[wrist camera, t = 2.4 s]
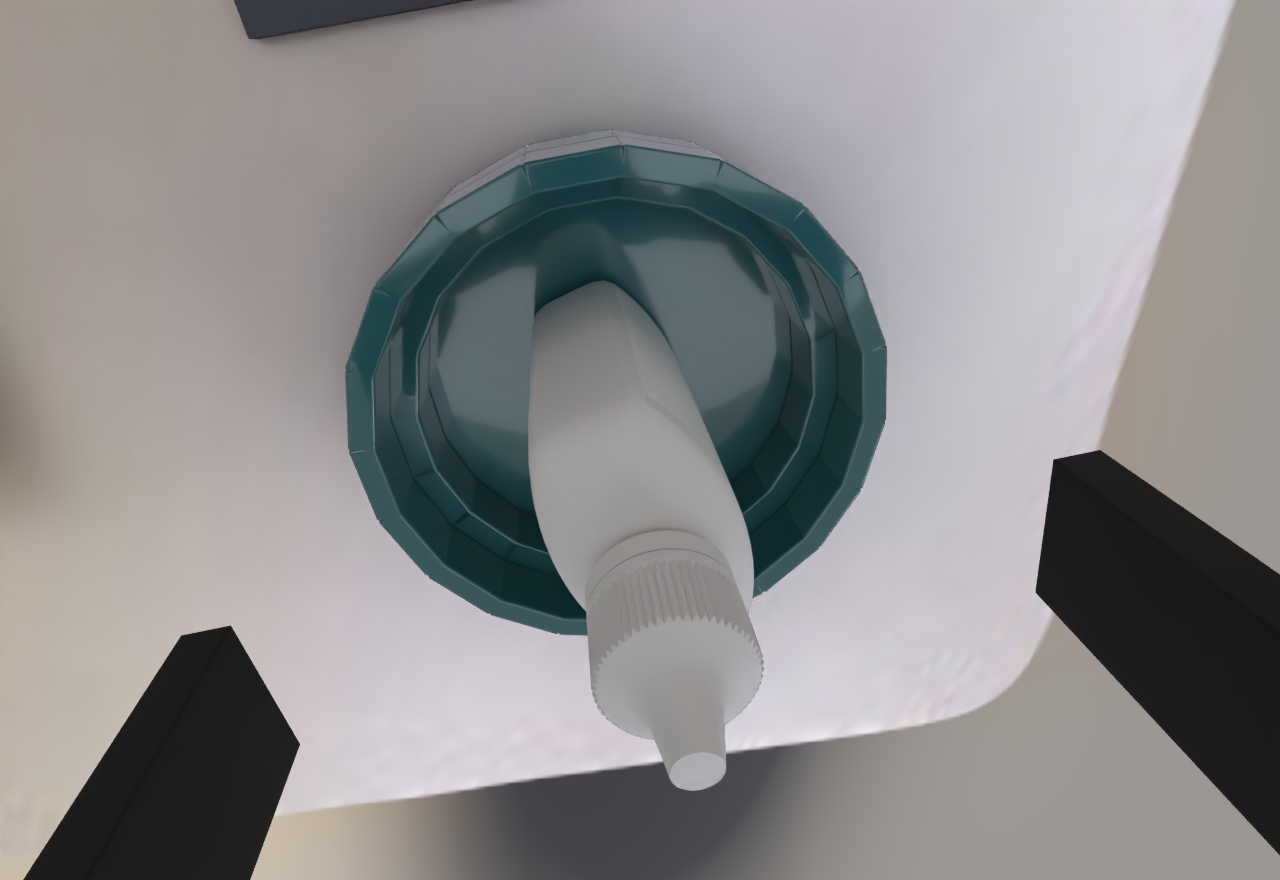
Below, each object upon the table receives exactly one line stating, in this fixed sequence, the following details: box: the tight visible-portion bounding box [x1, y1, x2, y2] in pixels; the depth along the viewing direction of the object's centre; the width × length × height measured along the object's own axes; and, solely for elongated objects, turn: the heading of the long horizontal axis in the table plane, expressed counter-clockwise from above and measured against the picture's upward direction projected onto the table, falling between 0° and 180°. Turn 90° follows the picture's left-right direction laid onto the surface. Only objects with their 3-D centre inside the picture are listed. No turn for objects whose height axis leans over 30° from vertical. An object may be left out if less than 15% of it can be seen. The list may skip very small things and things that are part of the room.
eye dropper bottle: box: [528, 280, 764, 790], centre depth 14 cm, size 4×6×12 cm
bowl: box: [345, 129, 887, 636], centre depth 18 cm, size 12×12×4 cm
